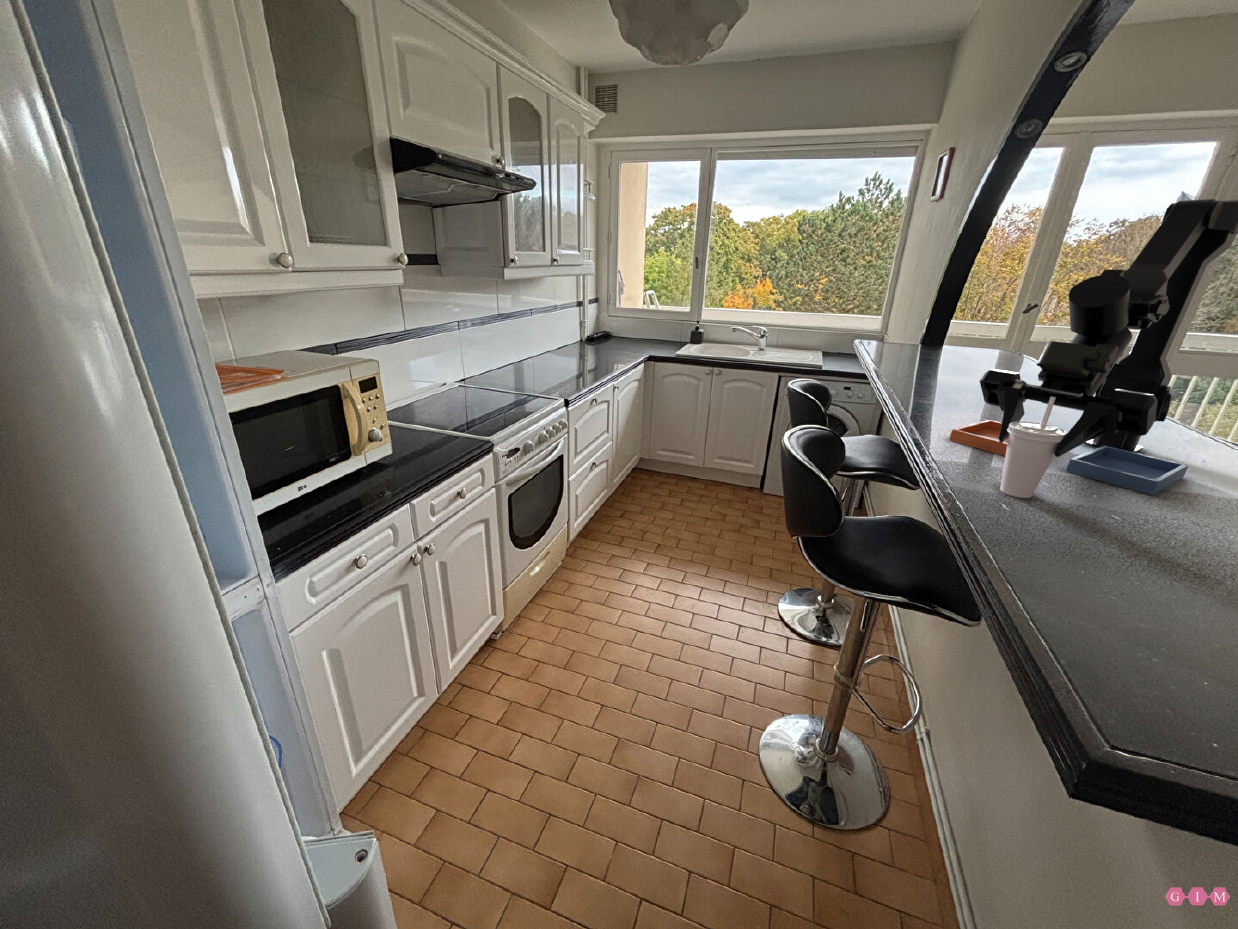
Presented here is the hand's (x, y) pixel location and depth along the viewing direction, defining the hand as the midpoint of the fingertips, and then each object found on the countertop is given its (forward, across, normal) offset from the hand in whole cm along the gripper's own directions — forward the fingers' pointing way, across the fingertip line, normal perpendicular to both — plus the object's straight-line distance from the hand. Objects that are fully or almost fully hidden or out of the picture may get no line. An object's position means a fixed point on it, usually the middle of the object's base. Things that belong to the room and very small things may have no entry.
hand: (1026, 447), depth 69 cm
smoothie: (+4, 0, +6) cm, 7 cm away
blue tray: (-12, +6, +22) cm, 26 cm away
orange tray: (-12, -11, +22) cm, 27 cm away
